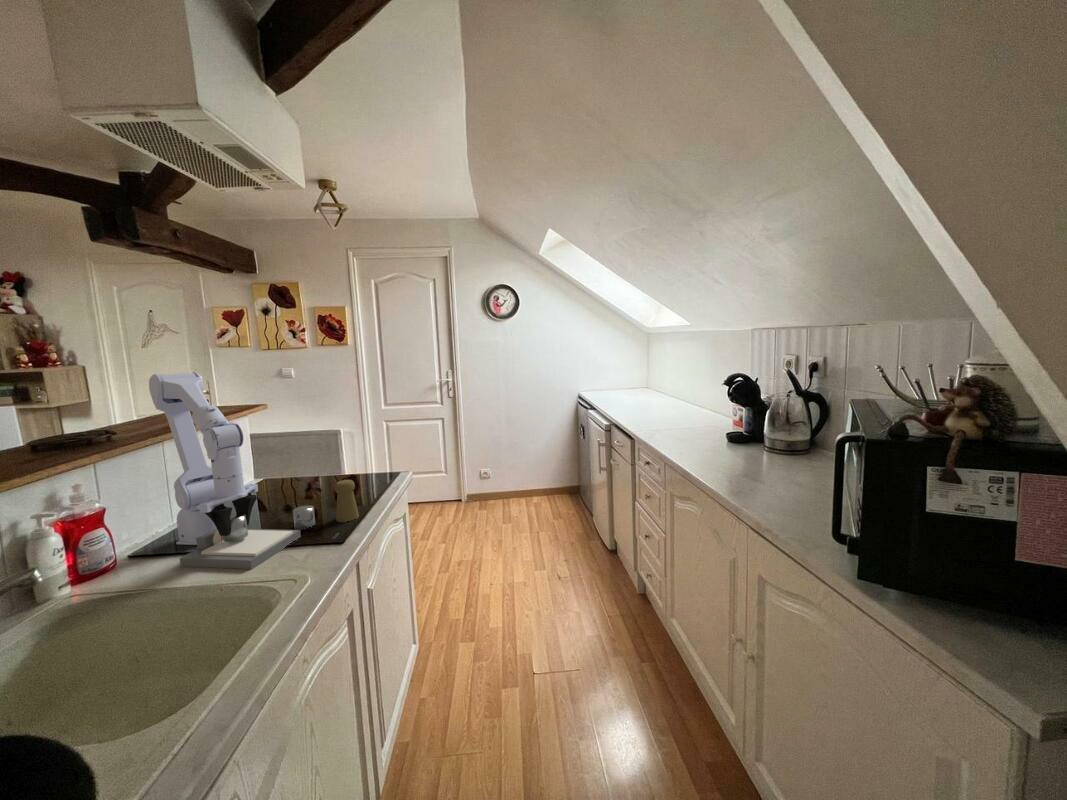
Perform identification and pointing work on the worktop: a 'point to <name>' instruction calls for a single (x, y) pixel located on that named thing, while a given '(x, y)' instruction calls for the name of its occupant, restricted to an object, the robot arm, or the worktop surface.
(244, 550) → the kitchen scale
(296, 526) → the cylinder
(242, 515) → the cylinder
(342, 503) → the cork
